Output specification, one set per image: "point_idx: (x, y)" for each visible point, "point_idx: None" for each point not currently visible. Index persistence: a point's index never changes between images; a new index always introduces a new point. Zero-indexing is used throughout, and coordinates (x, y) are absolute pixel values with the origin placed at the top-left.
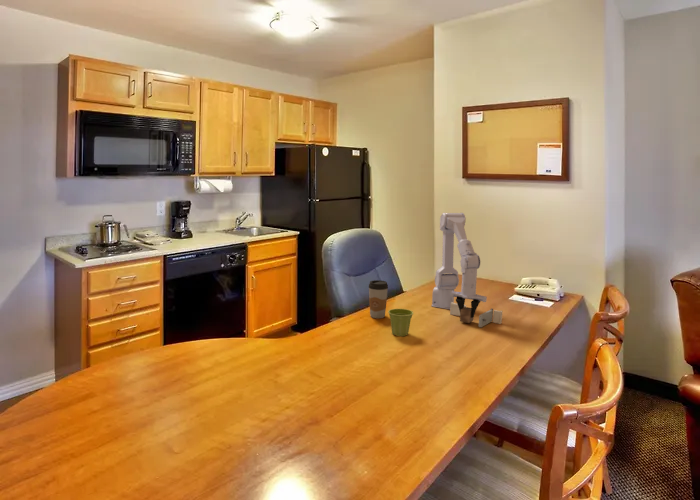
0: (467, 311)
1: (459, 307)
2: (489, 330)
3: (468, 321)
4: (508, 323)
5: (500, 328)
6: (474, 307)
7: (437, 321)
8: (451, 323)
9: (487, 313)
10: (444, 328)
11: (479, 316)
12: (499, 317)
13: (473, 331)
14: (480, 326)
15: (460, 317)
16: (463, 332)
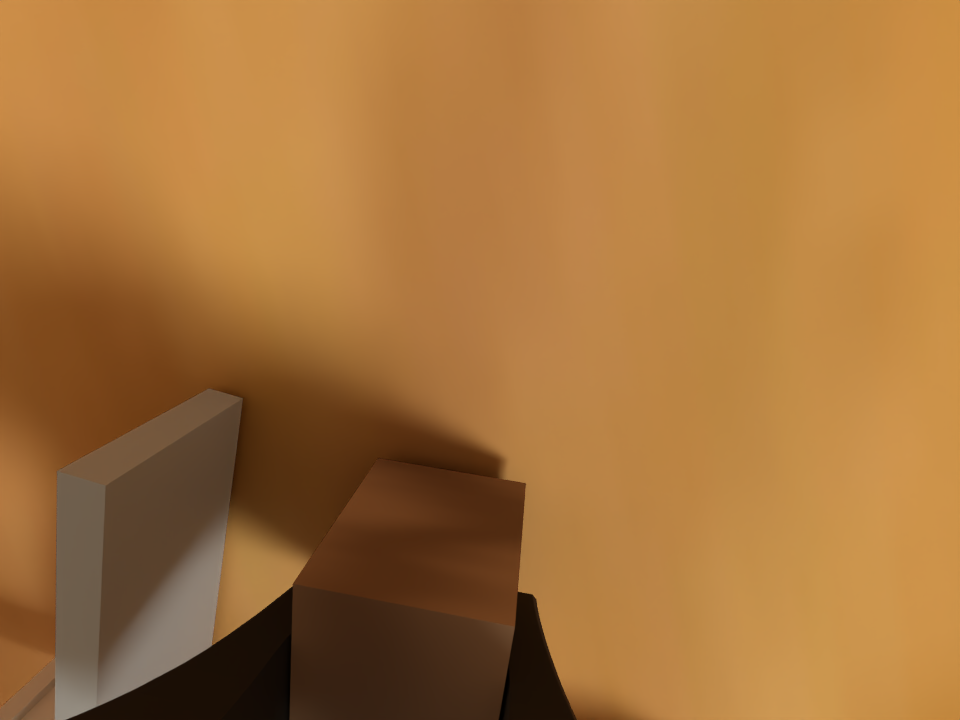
0: (356, 585)
1: (556, 712)
2: (95, 338)
3: (386, 471)
4: (31, 677)
5: (26, 477)
6: (154, 683)
7: (886, 403)
8: (642, 403)
9: (66, 668)
10: (715, 75)
11: (122, 472)
12: (29, 701)
13: (252, 177)
14: (209, 392)
15: (516, 517)
16: (368, 33)
